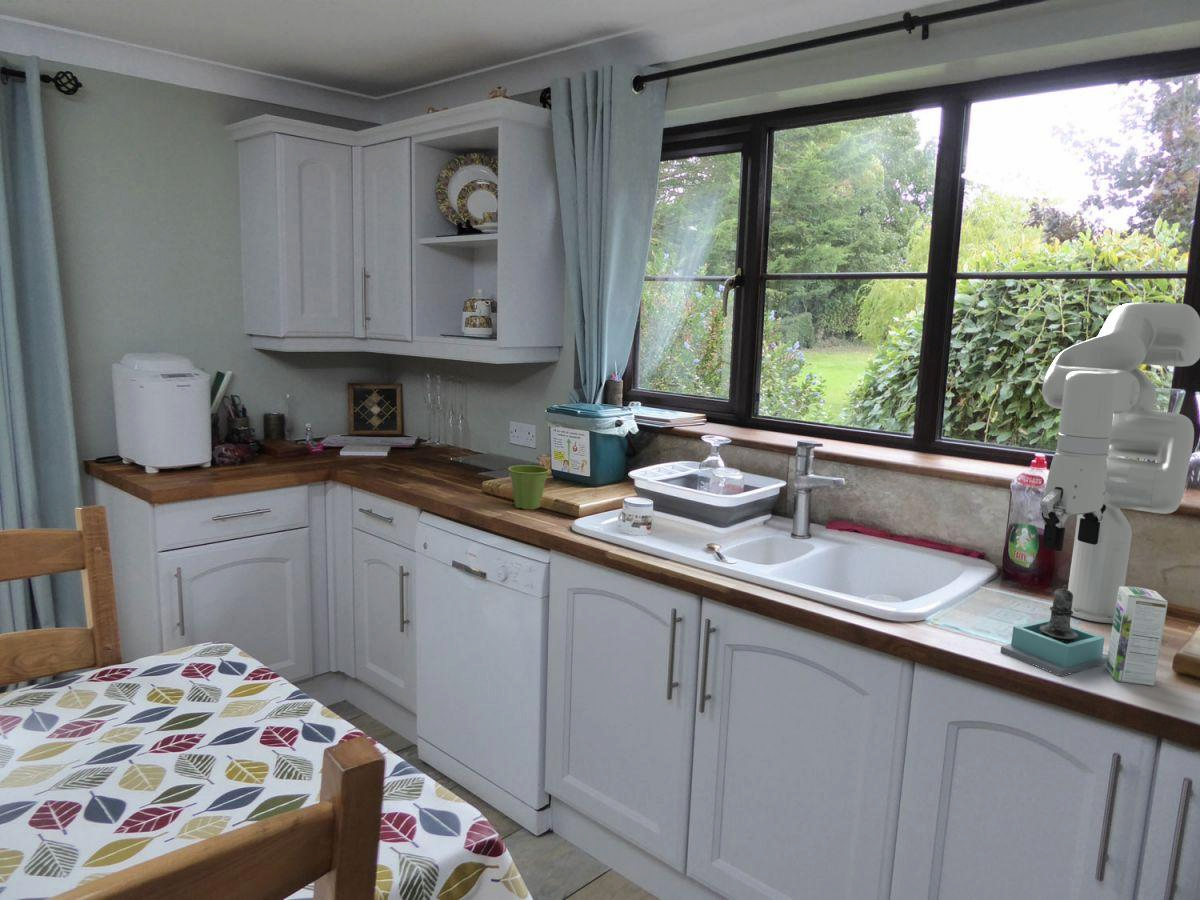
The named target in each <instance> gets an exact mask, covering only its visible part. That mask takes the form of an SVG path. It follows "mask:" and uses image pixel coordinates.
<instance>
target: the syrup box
mask: <svg viewBox="0 0 1200 900" xmlns="http://www.w3.org/2000/svg"><path fill="white" fill-rule="evenodd" d="M1168 604H1169V601H1168V600H1166V599H1165V598H1164V597H1163V596H1162V595H1161V594H1160V593H1159V592H1157V590H1152V589H1148V588H1144V587H1136V586H1125V587H1119V590H1118V597H1117V603H1116V609H1115V615H1114V621H1113V623H1112V626H1111V634H1110V638H1109V639H1110V640H1109V646H1108V653H1107V655H1108V659H1107V663H1106V664H1105V666H1106V667H1105V668H1106V670H1107V671H1108V672H1109V673H1110V675H1111V676H1112V678H1113V679H1114V680H1115V681H1116V682H1122V683H1130V684H1137V685H1144V686H1152V687H1153V686H1155V682H1156V675H1157V670H1158V664H1159V658H1160V651H1161V646H1162V645H1161V644H1162V641H1163V640H1162V639H1163V634H1164V628H1165V623H1166V616H1167V609H1168Z"/></svg>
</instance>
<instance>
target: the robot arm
mask: <svg viewBox="0 0 1200 900" xmlns="http://www.w3.org/2000/svg"><path fill="white" fill-rule="evenodd" d="M1199 360H1200V315H1199V314H1198V312H1197V311H1196V310H1195V308H1193V307H1192V306H1191V305H1189V304H1186V303H1183V302H1182V303H1181V302H1180V303H1179V302H1142V301H1141V302H1140V301H1139V302H1129V303H1123V304H1122V305H1121V304H1120V305H1119V306H1117V307H1115V308H1114V309H1113V310H1111V312H1110V313H1109V315H1108V317H1107V318H1106V320H1105V321H1104V324H1103V326H1102V328H1101V329H1100V331H1099V333H1098V335H1097V336H1096V337H1095V336H1094V337H1092V338H1090V339H1087V340H1084V341H1081V342H1079V343H1077V344H1074V345H1071V346H1070V347H1067V348H1065V349H1063V350H1062V351H1061V352H1059V353H1058V355H1057V356H1056V357H1055V358H1054V360H1053V362H1052V363H1051V365H1050V366H1049V368H1048V369H1047V372H1046V374H1045V377H1044V379H1043V382H1042V389H1041V390H1042V391H1041V392H1042V394H1041V395H1042V399H1043V400H1044V402H1045V404H1047V406H1049V407H1050V408H1054V409H1057V410H1060V417H1059V427H1058V434H1057V440H1056V441H1057V442H1056V448H1055V449H1056V450H1055V453H1054V455H1053V456H1052V460H1051V464H1050V466H1049V467H1050V468H1049V472H1048V476H1047V479H1046V484H1045V490H1044V491H1045V492H1044V497H1043V499H1042V500H1040V502H1039V504H1040V508H1041V509H1040V510H1041V518H1042V524H1043V525H1044V528H1043V536H1042V537H1043V538H1042V542H1041V543H1042V544H1041V545H1042V547H1043V548H1045V549H1049V550H1053V551H1055V552H1056V551H1057V552H1062V551H1063V547H1064V546H1063V545H1064V540H1065V532H1066V527H1063V526H1064V525H1065V523H1066V521H1067V520H1068V518H1069V516H1076V525H1075V533H1074V539H1073V548H1072V556H1071V565H1070V572H1069V579H1068V584H1067V585H1068V586H1067V590H1069V591H1070V592H1071V593H1072V594H1073V601H1072V608H1071V610H1072V611H1073V612H1074V613H1073V614H1071V617H1075V618H1078V619H1082V620H1086V621H1090V622H1095V623H1102V624H1113V621H1114V615H1115V609H1116V603H1117V597H1118V590H1119V587H1126V580H1127V579H1126V578H1127V572H1128V564H1129V557H1130V550H1131V545H1132V537H1133V536H1132V535H1133V533H1132V527H1131V525H1130V522H1129V521H1128V519H1127V518H1126V516H1125V515H1124V513H1123V512H1122V511H1121V509H1123V510H1124V509H1126V510H1134V511H1142V512H1149V513H1153V514H1154V513H1155V514H1162V515H1163V514H1164V515H1165V514H1171V513H1174V512H1176V511H1177V510H1178V509H1179V507H1180V505H1181V503H1182V500H1183V496H1184V492H1185V489H1186V488H1185V487H1186V483H1187V477H1188V474H1189V467H1190V463H1191V458H1192V452H1193V447H1194V440H1195V427H1194V424H1193V422H1192V420H1191V419H1190V418H1189V417H1187V416H1186V415H1184V414H1181V413H1177V412H1168V411H1167V412H1166V411H1165V412H1164V411H1159V410H1158V411H1157V410H1154V407H1155V403H1156V399H1157V395H1158V394H1157V389H1156V387H1155V386H1154V384H1153V382H1152V381H1151V379H1150V378H1149V377H1148V376H1147V374H1145V373H1144V372H1143V371H1142V370H1141V369H1140V368H1139V367H1140V366H1141V365H1145V366H1146V365H1148V366H1166V367H1190V366H1193V365H1195V363H1197V362H1198V361H1199ZM1109 455H1113V456H1109ZM1115 456H1118V457H1115ZM1124 457H1125V458H1124ZM1137 459H1138V460H1137ZM1139 459H1140V460H1139ZM1147 460H1148V461H1147ZM1149 460H1150V461H1149ZM1155 461H1156V462H1155ZM1057 515H1059V516H1057Z"/></svg>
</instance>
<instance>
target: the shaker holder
mask: <svg viewBox="0 0 1200 900" xmlns="http://www.w3.org/2000/svg"><path fill="white" fill-rule="evenodd" d="M1049 621H1050V618H1046V619H1045V618H1044V619H1041V620H1036V621H1031V622H1026V623H1023V624H1019V625H1013V626H1012V627H1013V628H1012V635H1011V636H1012V637H1011V643H1010V644H1005V645H1002V646H1000V653H1003V654H1005V655H1007V656H1010V657H1013V658H1014V657H1015V659H1017V658H1018V659H1017V660H1019V659H1021V660H1020V661H1022V660H1023V661H1022V662H1024V661H1026V662H1025V663H1027V662H1029V663H1031V664H1030V665H1032V664H1034V665H1037V666H1039V667H1041V668H1044V669H1046V670H1048V671H1047V672H1049V671H1051V672H1053V673H1055V674H1054V675H1056V674H1058V675H1059V676H1058V675H1057V676H1058V677H1063V676H1062V675H1064V676H1067V675H1066V674H1068V675H1070V674H1069V673H1071V674H1075V673H1078V672H1080V671H1081V670H1082V671H1085V670H1088V669H1092V668H1096V667H1098V666H1103V665H1107V659H1108V654H1106V653H1103V652H1104V647H1105V639H1106V637H1104V636H1100V635H1097V634H1094V633H1092V632H1089V631H1086V630H1083V629H1081V628H1078V627H1074V626H1071V625H1070V627H1071V630H1073V631H1075V632H1076V633H1077V634H1078V637H1077V638H1075V642H1073V643H1069V644H1065V643H1062V642H1060V641H1057V640H1054V639H1052V638H1049V637H1046V636H1044V635H1041V631H1040V629H1039V628H1040V626H1043V625H1048V624H1049ZM1029 663H1028V664H1029ZM1034 665H1033V666H1034ZM1039 667H1038V668H1039ZM1041 668H1040V669H1041ZM1044 669H1043V670H1044ZM1046 670H1045V671H1046ZM1077 671H1078V672H1077ZM1051 672H1050V673H1051ZM1074 672H1075V673H1074ZM1053 673H1052V674H1053Z"/></svg>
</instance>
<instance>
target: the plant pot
mask: <svg viewBox="0 0 1200 900" xmlns="http://www.w3.org/2000/svg"><path fill="white" fill-rule="evenodd" d="M507 470H508V471H509V473H510V478H511V482H512V490H513V492H512V493H513V499H514V500H513V501H514V507H515V508H516V509H523V510H526V511H527V510H536V509H539V508H541V504H540V498H541V497H542V498H543V494H544V489H545V484H546V480H547V478H548V473H549V472H550V470H551V469H549V468H548V467H544V466H540V465H531V464H530V465H528V464H527V465H526V464H525V465H523V464H522V465H512V466H509V467H508V468H507Z"/></svg>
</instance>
